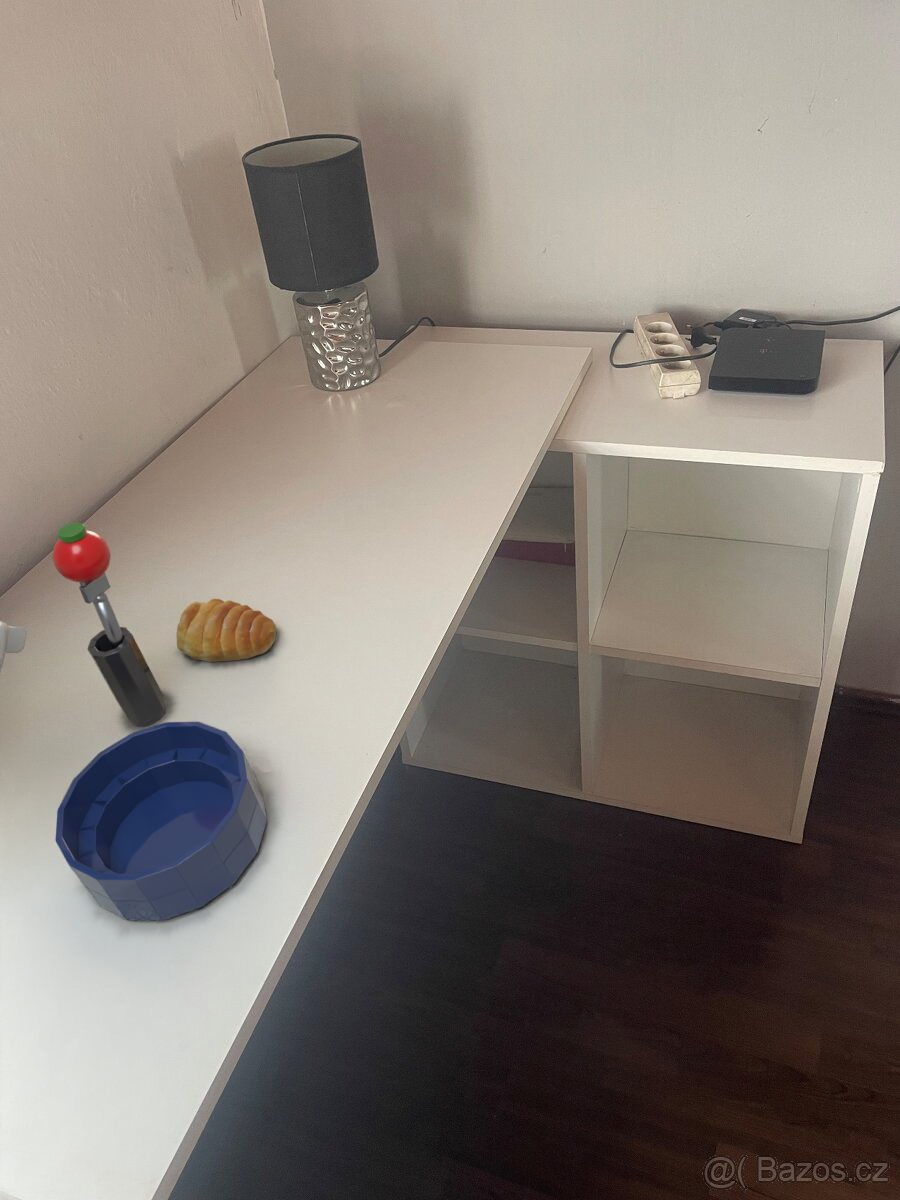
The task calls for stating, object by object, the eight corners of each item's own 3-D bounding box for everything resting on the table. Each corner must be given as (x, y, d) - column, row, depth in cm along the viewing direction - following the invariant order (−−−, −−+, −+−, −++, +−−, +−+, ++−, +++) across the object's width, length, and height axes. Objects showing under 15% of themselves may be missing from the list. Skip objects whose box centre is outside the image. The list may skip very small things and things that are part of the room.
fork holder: (137, 733, 77) (97, 663, 71) (121, 711, 79) (81, 641, 73) (174, 711, 78) (137, 640, 73) (157, 690, 81) (120, 620, 75)
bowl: (132, 963, 60) (98, 920, 56) (63, 839, 69) (29, 794, 65) (300, 841, 66) (280, 794, 62) (216, 741, 75) (194, 694, 71)
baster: (146, 729, 76) (69, 549, 64) (111, 716, 78) (30, 538, 66) (178, 698, 79) (110, 520, 67) (143, 686, 81) (71, 510, 69)
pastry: (289, 621, 86) (279, 592, 83) (264, 670, 81) (252, 641, 78) (205, 616, 88) (193, 587, 86) (175, 663, 83) (161, 635, 81)
